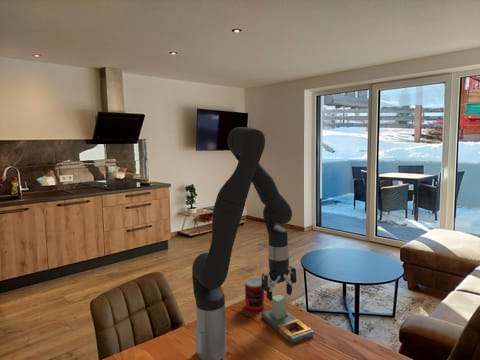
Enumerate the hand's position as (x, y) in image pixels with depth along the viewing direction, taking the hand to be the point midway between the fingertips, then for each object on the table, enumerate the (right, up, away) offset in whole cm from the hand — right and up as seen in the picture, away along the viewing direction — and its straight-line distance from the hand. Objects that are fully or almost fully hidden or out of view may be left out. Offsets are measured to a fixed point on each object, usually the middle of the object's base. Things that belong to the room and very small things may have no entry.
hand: (279, 296), depth 129 cm
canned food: (-9, -8, +11) cm, 17 cm away
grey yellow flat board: (+2, -10, -3) cm, 10 cm away
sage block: (0, -9, +1) cm, 9 cm away
